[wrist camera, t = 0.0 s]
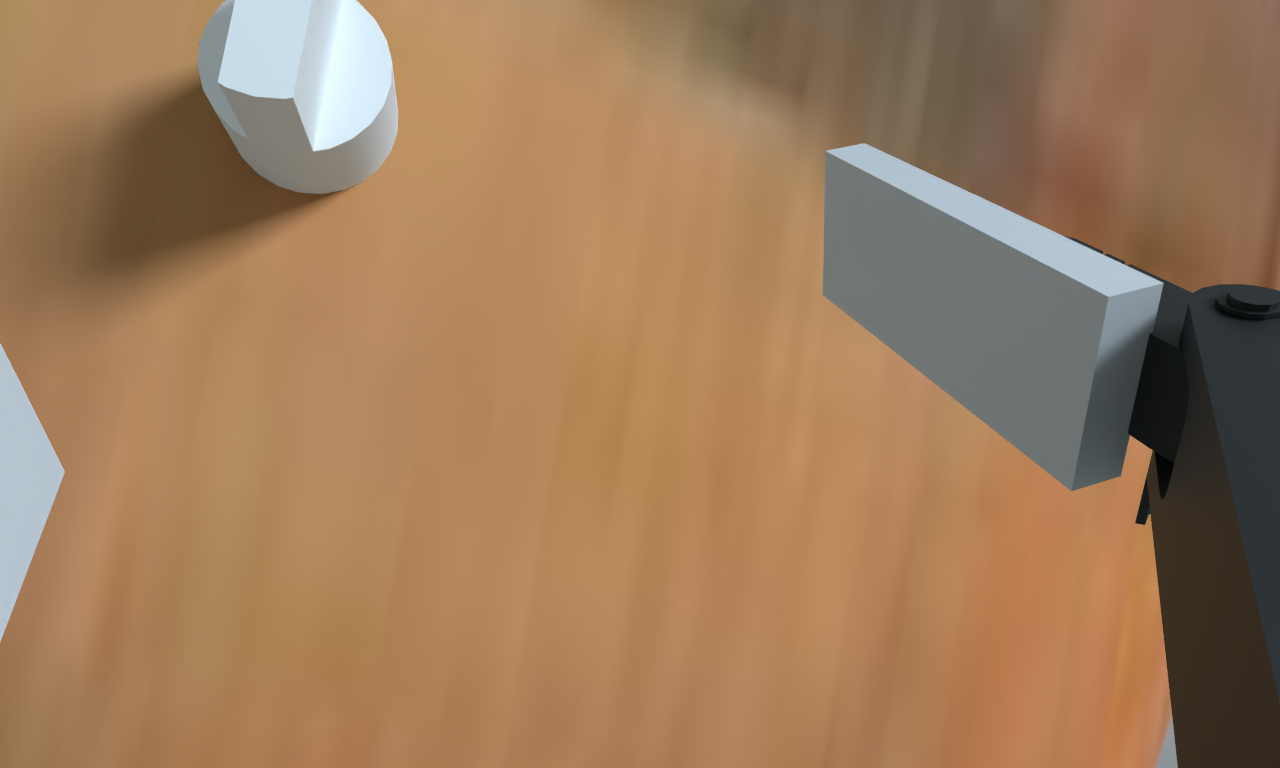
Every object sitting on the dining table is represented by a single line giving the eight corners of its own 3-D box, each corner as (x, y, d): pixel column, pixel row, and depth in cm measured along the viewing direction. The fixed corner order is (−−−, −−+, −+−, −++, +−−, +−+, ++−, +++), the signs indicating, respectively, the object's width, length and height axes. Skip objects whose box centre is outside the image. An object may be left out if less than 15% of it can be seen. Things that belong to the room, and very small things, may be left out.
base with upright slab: (384, 208, 51) (365, 118, 39) (211, 176, 49) (138, 73, 37) (410, 58, 52) (400, -72, 40) (244, 22, 50) (183, -124, 39)
